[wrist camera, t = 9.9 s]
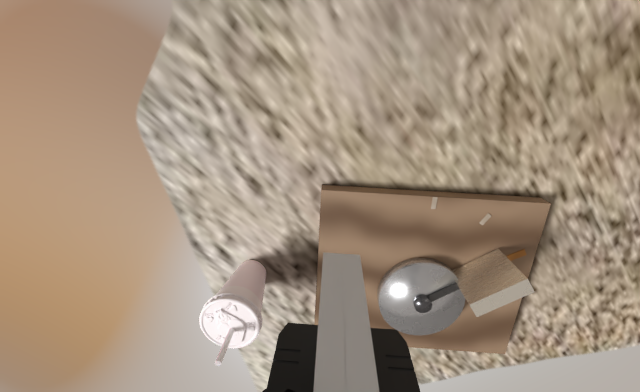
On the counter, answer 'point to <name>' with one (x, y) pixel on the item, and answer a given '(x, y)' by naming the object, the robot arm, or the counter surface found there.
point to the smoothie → (235, 309)
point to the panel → (432, 247)
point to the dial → (447, 291)
